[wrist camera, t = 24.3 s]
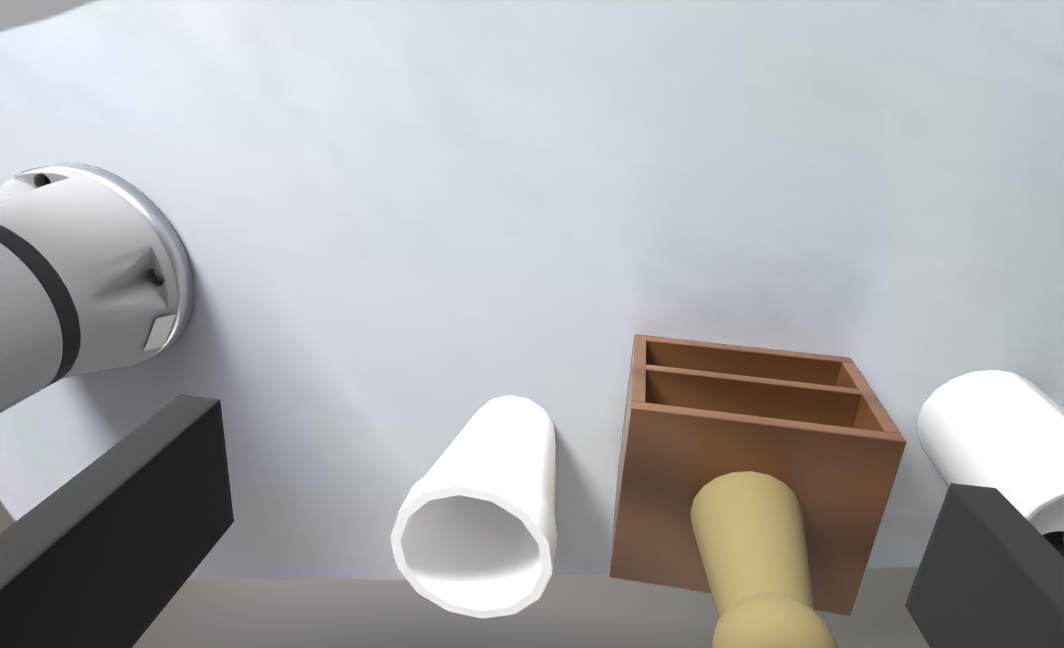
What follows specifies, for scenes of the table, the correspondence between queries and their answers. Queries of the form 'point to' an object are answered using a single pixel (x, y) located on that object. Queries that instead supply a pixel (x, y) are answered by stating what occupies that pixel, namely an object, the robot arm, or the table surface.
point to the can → (1000, 443)
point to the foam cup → (484, 515)
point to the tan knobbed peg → (757, 563)
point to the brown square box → (750, 456)
